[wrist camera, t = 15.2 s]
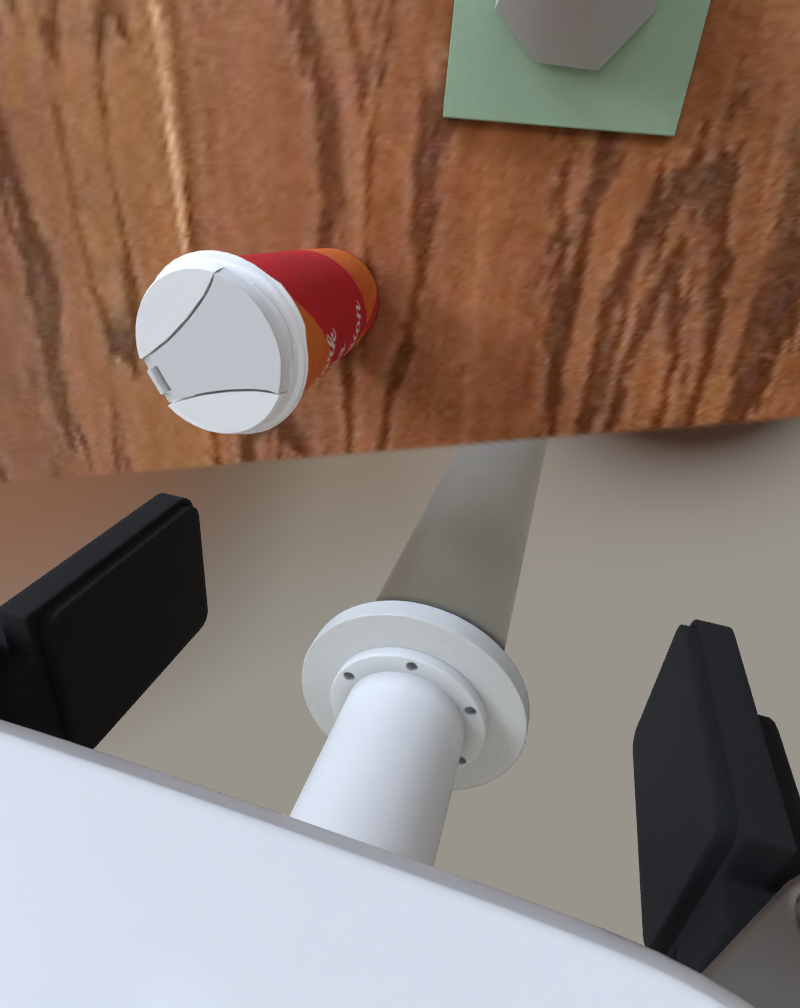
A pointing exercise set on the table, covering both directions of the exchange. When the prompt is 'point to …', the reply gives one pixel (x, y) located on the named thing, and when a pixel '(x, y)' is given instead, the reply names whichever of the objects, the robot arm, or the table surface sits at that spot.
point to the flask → (574, 28)
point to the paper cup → (251, 331)
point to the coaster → (573, 74)
